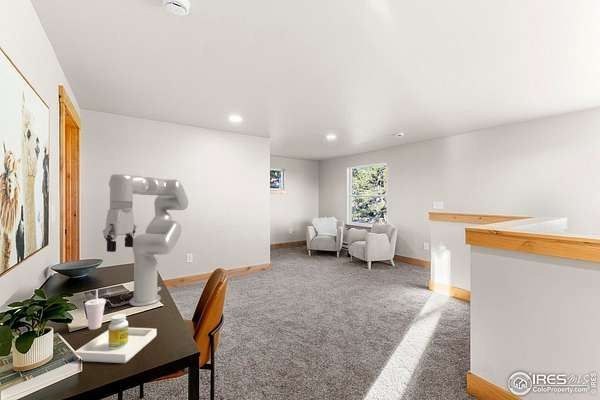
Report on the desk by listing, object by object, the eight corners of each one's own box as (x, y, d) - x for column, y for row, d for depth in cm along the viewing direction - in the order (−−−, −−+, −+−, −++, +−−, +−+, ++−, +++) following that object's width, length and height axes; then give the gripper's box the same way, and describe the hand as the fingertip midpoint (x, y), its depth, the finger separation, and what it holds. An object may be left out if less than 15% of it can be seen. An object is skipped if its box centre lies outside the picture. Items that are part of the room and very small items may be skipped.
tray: (112, 333, 97) (113, 326, 97) (156, 335, 96) (156, 328, 96) (73, 360, 81) (73, 352, 81) (125, 363, 80) (125, 354, 80)
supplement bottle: (115, 340, 91) (116, 312, 91) (131, 341, 91) (132, 312, 91) (104, 349, 86) (104, 319, 86) (121, 350, 86) (121, 320, 86)
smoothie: (94, 332, 98) (94, 293, 98) (79, 330, 99) (80, 292, 99) (109, 324, 104) (110, 287, 104) (95, 322, 105) (96, 286, 105)
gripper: (127, 205, 116) (126, 245, 116) (94, 206, 99) (93, 253, 99) (144, 205, 115) (143, 245, 116) (114, 206, 98) (113, 254, 98)
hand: (120, 249), depth 107 cm, fingers open, 9 cm apart
